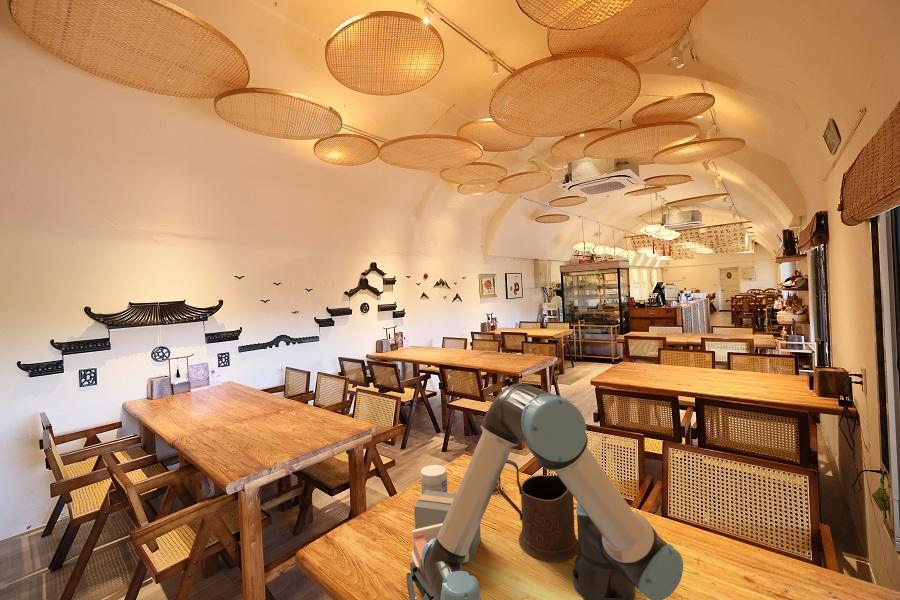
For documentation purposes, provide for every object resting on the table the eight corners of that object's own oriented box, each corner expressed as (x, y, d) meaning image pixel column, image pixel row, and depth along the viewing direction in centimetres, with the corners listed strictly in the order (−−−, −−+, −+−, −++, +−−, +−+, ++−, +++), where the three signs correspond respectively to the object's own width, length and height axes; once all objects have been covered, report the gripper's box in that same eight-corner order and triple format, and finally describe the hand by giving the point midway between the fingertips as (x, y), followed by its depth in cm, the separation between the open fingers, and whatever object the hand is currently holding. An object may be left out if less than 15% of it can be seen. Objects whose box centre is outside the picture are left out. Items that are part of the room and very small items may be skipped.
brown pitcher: (584, 566, 105) (581, 478, 105) (498, 558, 110) (495, 473, 110) (575, 526, 123) (573, 451, 123) (502, 520, 128) (499, 448, 128)
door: (467, 558, 109) (466, 517, 109) (480, 583, 99) (479, 538, 99) (413, 572, 104) (412, 530, 104) (422, 600, 94) (420, 553, 94)
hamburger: (504, 500, 142) (503, 485, 142) (473, 495, 146) (473, 481, 146) (509, 484, 154) (508, 471, 154) (480, 481, 157) (480, 468, 157)
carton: (481, 540, 118) (479, 495, 118) (474, 562, 109) (472, 513, 109) (426, 532, 123) (425, 488, 123) (415, 552, 114) (413, 505, 114)
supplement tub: (449, 516, 132) (448, 474, 132) (423, 519, 131) (421, 477, 130) (446, 501, 141) (444, 463, 141) (421, 504, 140) (419, 465, 140)
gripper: (409, 653, 78) (390, 575, 100) (481, 628, 83) (447, 560, 105) (408, 617, 78) (389, 548, 100) (480, 595, 83) (446, 533, 105)
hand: (419, 554), depth 103 cm, fingers closed on door, 3 cm apart
